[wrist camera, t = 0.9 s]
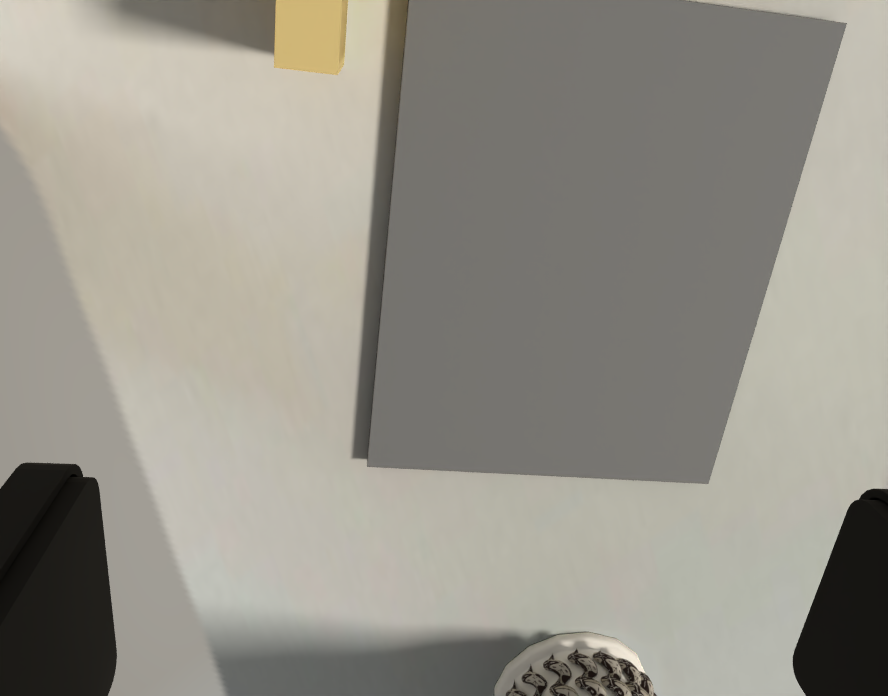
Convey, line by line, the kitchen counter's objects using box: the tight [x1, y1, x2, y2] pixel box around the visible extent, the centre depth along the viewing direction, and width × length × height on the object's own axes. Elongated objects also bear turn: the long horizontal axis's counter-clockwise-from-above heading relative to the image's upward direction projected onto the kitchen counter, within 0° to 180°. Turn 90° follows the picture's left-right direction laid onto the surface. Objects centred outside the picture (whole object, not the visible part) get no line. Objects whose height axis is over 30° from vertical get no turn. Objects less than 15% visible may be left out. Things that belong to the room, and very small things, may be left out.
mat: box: [367, 0, 847, 484], centre depth 30 cm, size 20×16×1 cm
